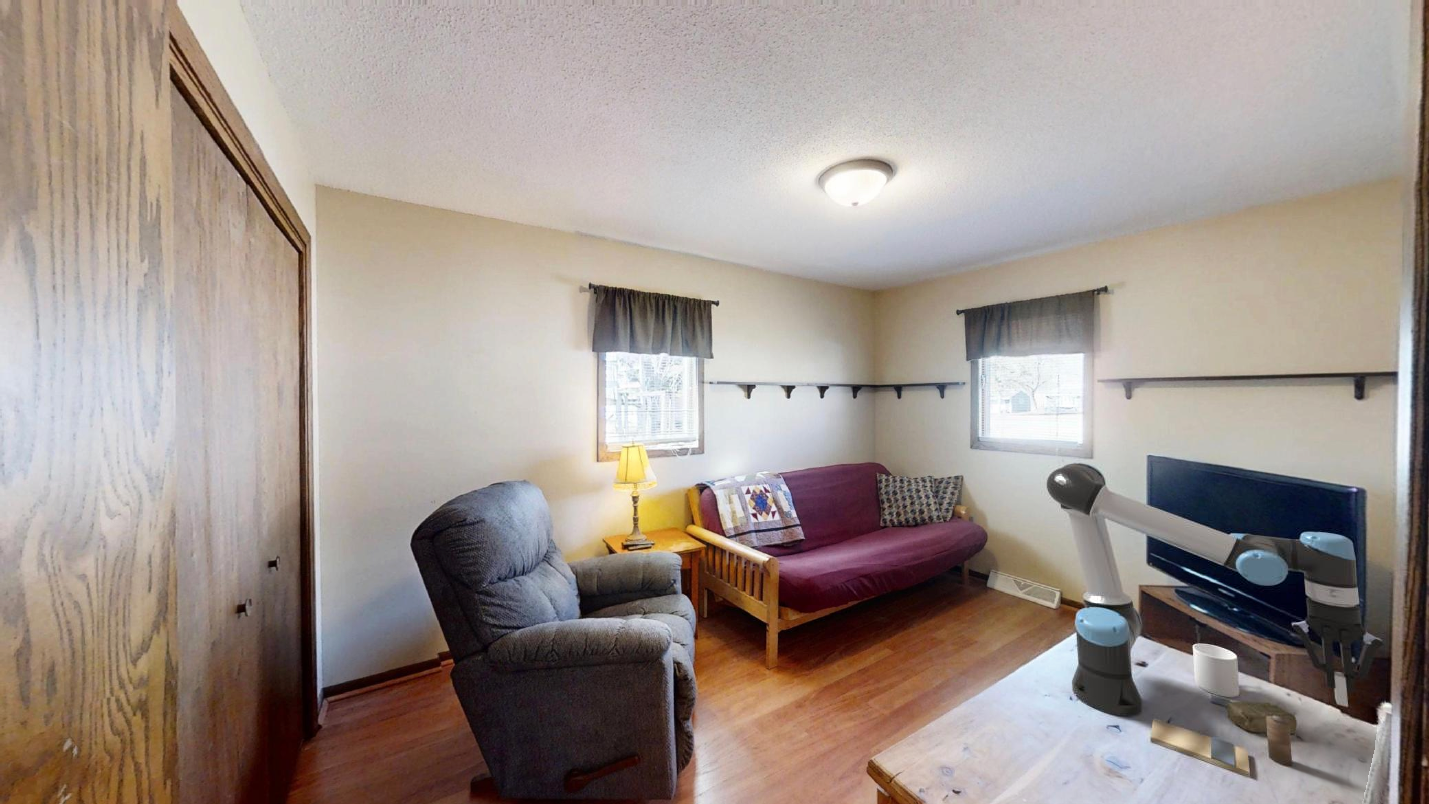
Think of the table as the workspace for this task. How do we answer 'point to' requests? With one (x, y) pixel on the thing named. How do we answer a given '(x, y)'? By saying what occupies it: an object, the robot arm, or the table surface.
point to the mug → (1216, 670)
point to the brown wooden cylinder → (1279, 740)
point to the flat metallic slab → (1202, 744)
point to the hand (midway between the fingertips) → (1341, 702)
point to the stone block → (1257, 715)
